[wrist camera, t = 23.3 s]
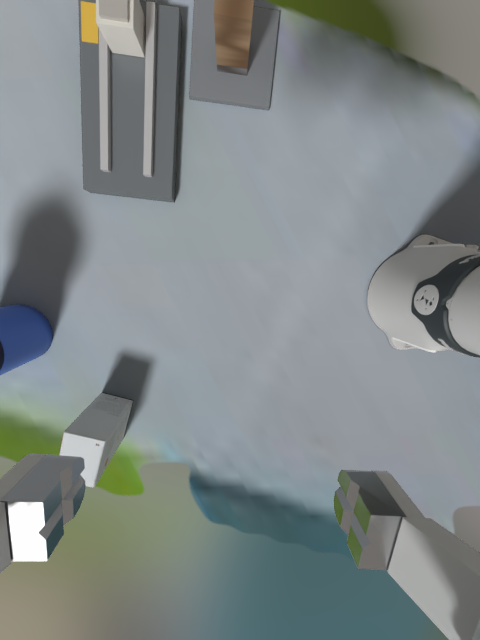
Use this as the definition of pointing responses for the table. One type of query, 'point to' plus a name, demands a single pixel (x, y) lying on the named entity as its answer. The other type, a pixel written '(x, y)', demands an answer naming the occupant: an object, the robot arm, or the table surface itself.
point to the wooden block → (233, 34)
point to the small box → (97, 435)
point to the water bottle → (22, 336)
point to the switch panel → (131, 107)
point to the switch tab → (122, 26)
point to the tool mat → (227, 85)
